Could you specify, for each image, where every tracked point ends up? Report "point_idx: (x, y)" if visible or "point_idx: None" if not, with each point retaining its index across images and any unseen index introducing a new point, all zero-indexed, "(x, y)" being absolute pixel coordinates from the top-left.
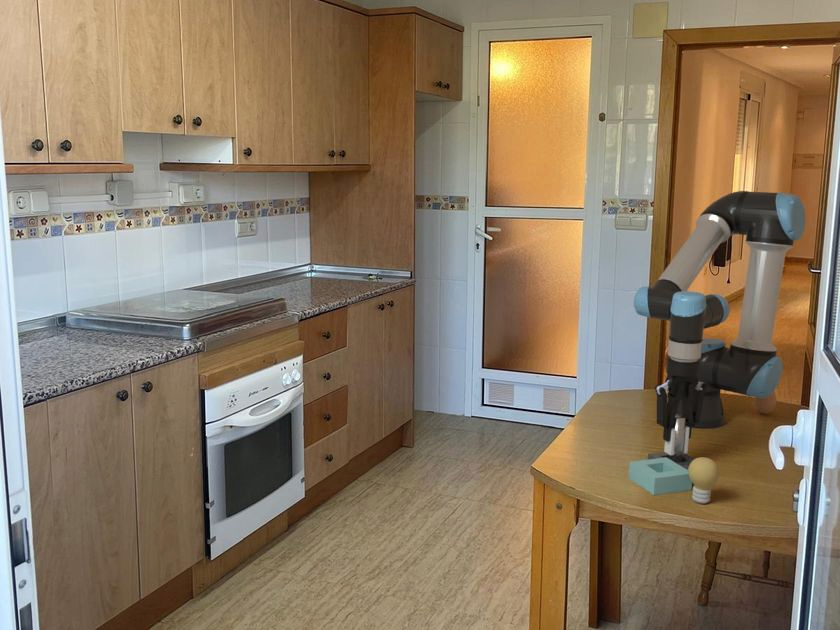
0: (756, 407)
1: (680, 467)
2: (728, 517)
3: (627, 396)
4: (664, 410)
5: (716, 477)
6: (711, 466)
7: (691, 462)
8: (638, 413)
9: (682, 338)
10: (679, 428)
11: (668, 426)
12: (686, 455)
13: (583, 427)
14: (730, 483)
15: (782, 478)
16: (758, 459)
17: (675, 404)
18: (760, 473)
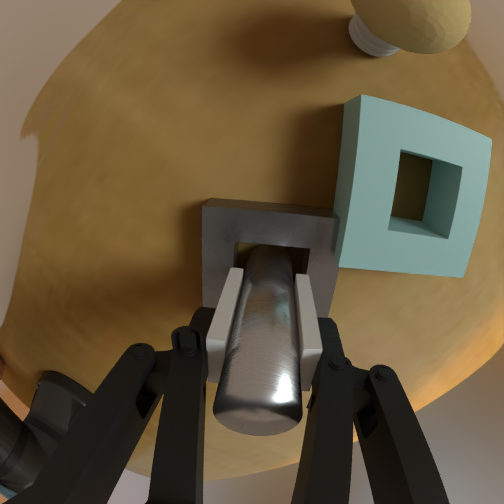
0: (3, 370)
1: (366, 161)
2: None
3: (145, 470)
4: (417, 449)
5: None
6: None
7: (464, 29)
8: None
9: None
10: (280, 346)
11: (351, 368)
12: (210, 284)
13: (289, 457)
14: (178, 100)
15: (43, 110)
16: (32, 228)
17: (332, 496)
18: (62, 149)
